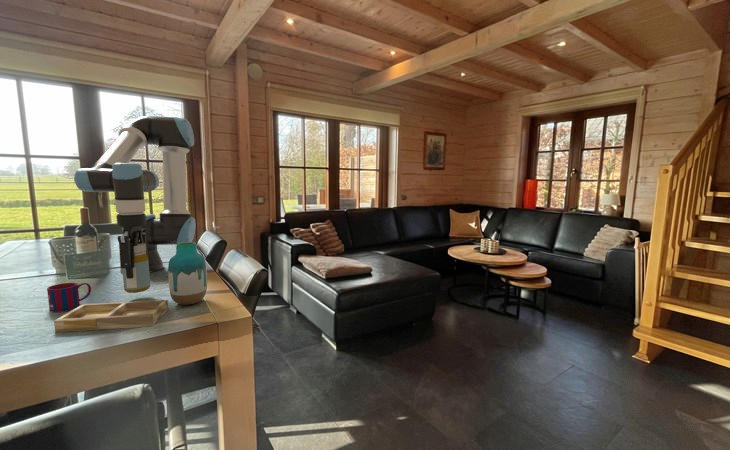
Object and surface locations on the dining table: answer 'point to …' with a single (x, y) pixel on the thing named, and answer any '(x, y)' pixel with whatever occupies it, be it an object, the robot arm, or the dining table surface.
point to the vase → (187, 274)
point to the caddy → (112, 316)
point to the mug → (65, 296)
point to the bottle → (139, 270)
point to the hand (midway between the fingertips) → (137, 284)
